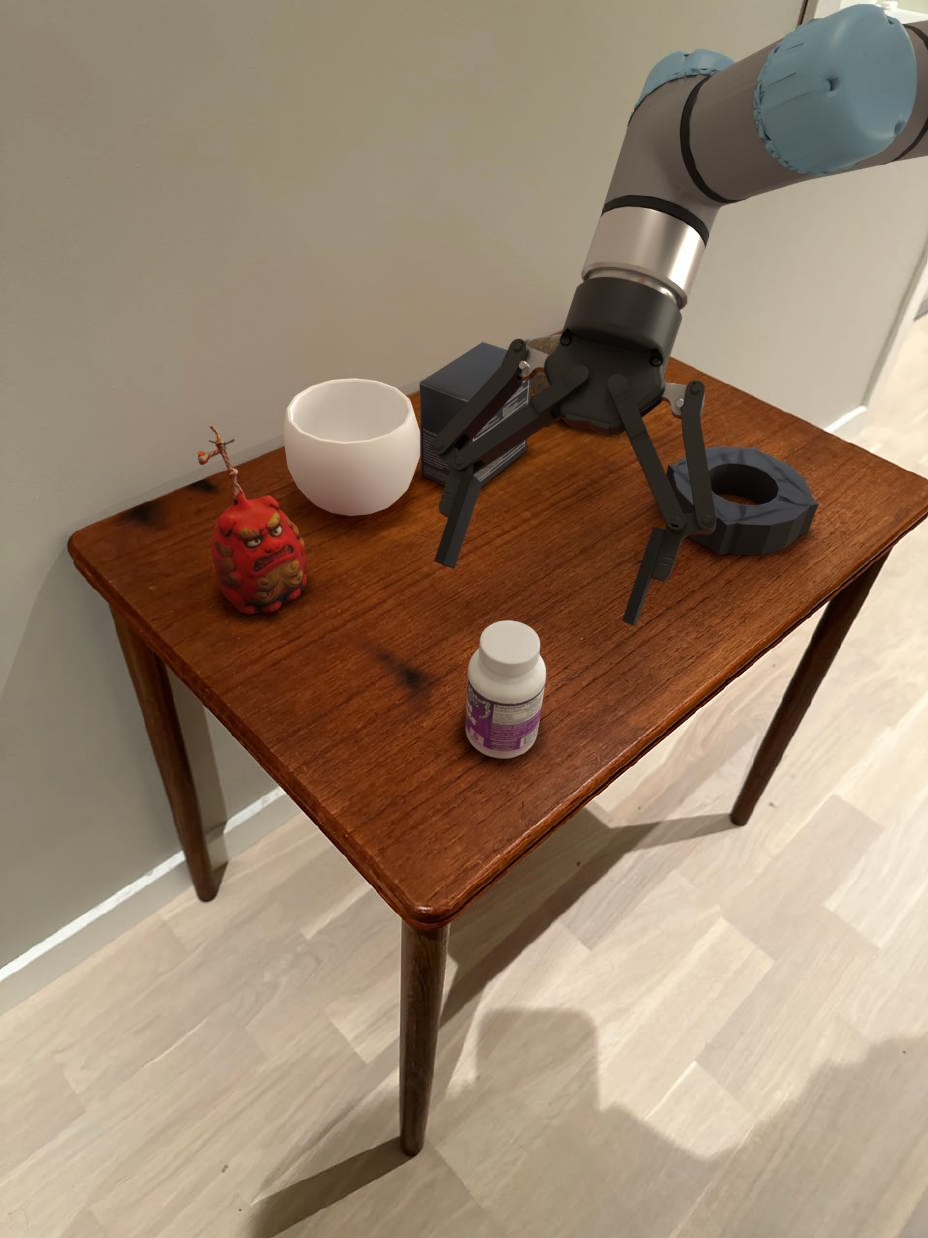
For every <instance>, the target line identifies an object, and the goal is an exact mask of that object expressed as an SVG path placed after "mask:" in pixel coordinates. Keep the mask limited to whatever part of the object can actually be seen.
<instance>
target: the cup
mask: <svg viewBox="0 0 928 1238" xmlns="http://www.w3.org/2000/svg"><path fill="white" fill-rule="evenodd" d="M419 427H420V426H419V424H418V421H417V418H416V415H415V411H414V407H413V404H412V402H411V399H410V397H408V396H407V395H405V393H404V392H402V391H401V390H400V389H399V388H397V387H395V386H392V385H390V384H387V383H384V382H381V381H379V380H372V379H363V378H355V377H354V378H341V379H340V378H339V379H331V380H327V381H324V382H320V383H316V384H313V385H310V386H309V387H306V388H305V389H304V390H302V391H300V392H299V393H297V394H295V395H294V397H293V398H292V400H291V401H290V402H289V404H288V406H287V407H286V409H285V414H284V419H283V426H282V435H283V444H284V451H285V458H286V467H287V469H288V471H289V473H290V476H291V478H292V479H293V481H294V483H295V485H296V487H297V488H298V489H299V491H300V492H301V493H302V494H303V495H304V496H305V498H307V499H308V500H309V501H310V502H311V503H312V504H313V505H315V506H316V507H318V508H320V509H322V510H324V511H326V512H329V513H331V514H335V515H342V516H350V517H353V516H354V517H356V516H364V515H372V514H374V513H375V514H376V513H377V512H380V511H383V510H386V509H388V508H390V507H391V506H392V505H393V504H394V503H395V502H397V501H398V500H399V499H400V498H401V497H402V496H403V495H404V494H405V493H406V492H407V491H408V489H409V487H410V485H411V482H412V480H413V477H414V475H415V472H416V469H417V466H418V463H419V460H420V458H421V429H420V428H419Z"/></svg>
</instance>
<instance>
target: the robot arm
mask: <svg viewBox="0 0 928 1238" xmlns="http://www.w3.org/2000/svg"><path fill="white" fill-rule="evenodd" d="M924 157H928V19H925V20H919V21H914V22H906V23H902V22H901V21H900V20H899V19H898V18H897V17H893V16H890V15H888V14H886V12H885V10H884V8H883V7H880V6H879V5H877V4H874V3H857V4H852V5H850V6H847V7H845V8H842V9H840V10H838V11H835V12H834V13H831V14H828V15H826V16H824V17H818V18H815V17H814V18H812V19H810V20H808V21H805V22H804V23H803V22H802V23H801V24H799V25H798V26H797V27H796V28H795V29H794V30H793V31H789V32H788V33H786V35H784V36H783V37H781V38H780V39H777V40H776V41H774V42H772V43H770V44H769V45H767V46H764V47H763V48H761V49H759V50H757V51H755V52H754V53H752V54H750V55H747V56H746V57H744V58H742V59H741V60H739V61H736V60H735V59H733V58H731V57H730V56H727V55H725V54H724V53H722V52H718V51H715V50H712V49H706V48H697V49H695V50H694V51H693V52H689V53H688V52H686V51H683V50H677V51H674V52H671V53H670V54H667V55H666V56H664V57H663V58H661V59H660V60H659V61H657V62H656V63H655V65H654V66H652V68H651V70H650V71H649V73H648V75H647V77H646V79H645V81H644V84H643V87H642V90H641V93H640V96H639V98H638V100H637V101H636V103H635V104H634V106H633V111H632V112H630V116H629V119H628V121H627V125H626V132H625V135H624V138H623V141H622V144H621V147H620V151H619V154H618V157H617V161H616V164H615V167H614V171H613V174H612V177H611V180H610V183H609V186H608V189H607V190H608V191H607V193H606V196H605V199H604V202H603V207H602V210H601V214H600V217H599V218H598V221H597V224H596V227H595V230H594V233H593V236H592V239H591V242H590V245H589V248H588V251H587V254H586V257H585V260H584V264H583V266H582V269H581V271H580V277H581V280H582V282H581V283H580V284H578V285H577V286H576V288H575V291H574V294H573V297H572V300H571V303H570V307H569V309H568V311H567V315H566V318H565V321H564V325H563V327H562V330H561V333H560V334H561V337H560V340H559V343H558V345H557V346H556V348H555V349H554V350H553V351H552V352H551V353H550V354H549V355H548V354H546V353H543V352H540V351H538V350H535V349H532V348H529V347H528V346H527V345H526V343H525V340H524V339H522V338H515V339H513V340H512V341H511V343H510V344H509V346H508V348H507V353H506V355H505V357H504V359H503V362H502V364H501V366H500V367H499V369H498V370H497V371H496V372H495V373H494V374H493V375H492V376H491V377H490V378H489V379H488V381H487V382H486V383H485V384H484V385H483V386H482V387H481V388H480V389H479V390H478V392H477V393H476V394H475V395H474V396H473V397H472V398H471V399H470V400H469V401H468V402H467V404H466V405H465V406H464V407H463V408H462V409H461V410H460V411H459V412H458V413H457V415H456V416H455V417H454V418H453V419H452V420H451V421H450V422H449V423H448V424H447V425H446V427H445V428H444V429H443V430H442V431H441V432H440V433H439V434H438V435H437V436H436V437H435V439H434V440H433V441H432V443H431V450H432V451H433V453H435V454H436V455H437V456H438V457H439V458H441V459H442V460H443V461H445V462H446V463H447V464H448V466H449V475H448V478H447V481H446V484H445V486H444V488H443V492H442V494H441V498H440V500H439V503H438V513H439V514H440V515H442V516H444V517H446V518H447V519H446V523H445V526H444V528H443V532H442V535H441V538H440V541H439V544H438V547H437V550H436V554H435V557H434V560H433V562H434V563H438V564H440V565H442V566H444V567H448V568H450V569H454V570H455V568H456V566H457V562H458V559H459V556H460V553H461V549H462V547H463V544H464V542H465V541H464V540H465V538H466V536H467V535H466V534H467V533H468V532H467V531H468V529H469V525H470V523H471V519H472V516H473V513H474V510H475V507H476V504H477V501H478V498H479V494H480V491H481V489H482V487H483V486H482V482H480V481H479V480H478V479H477V478H476V477H475V476H474V474H476V473H477V472H479V471H480V470H481V469H483V468H484V467H486V466H487V465H489V464H490V463H492V462H493V461H495V460H496V459H498V458H499V457H501V456H502V455H504V454H505V453H507V452H508V451H510V450H511V449H513V448H514V447H516V446H517V445H518V444H520V443H521V442H523V441H524V440H526V439H527V440H528V439H529V438H530V437H532V436H534V435H535V434H536V433H538V432H539V431H541V430H543V429H544V428H548V427H550V426H552V425H554V424H555V423H556V422H558V421H560V420H562V421H564V422H565V423H566V424H567V425H568V427H570V428H575V429H577V430H593V431H594V432H596V433H597V434H599V435H601V436H605V437H609V438H613V437H612V436H614V435H615V436H616V435H620V434H622V433H624V432H625V433H626V437H627V438H628V441H629V443H630V445H631V447H632V450H633V452H634V455H635V457H636V459H637V461H638V464H639V466H640V468H641V471H642V473H643V475H644V477H645V479H646V482H647V484H648V487H649V489H650V491H651V493H652V496H653V498H654V500H655V502H656V506H657V508H658V510H659V512H660V514H661V517H662V519H663V521H664V523H665V528H663V527H658V526H655V525H653V526H652V529H651V532H650V534H649V538H648V541H647V544H646V547H645V550H644V553H643V556H642V559H641V563H640V565H639V568H638V571H637V574H636V577H635V579H634V580H635V581H634V583H633V586H632V589H631V592H630V595H629V599H628V601H627V604H626V607H625V610H624V614H623V617H622V620H621V621H622V622H623V623H624V624H627V625H630V626H633V627H637V625H638V621H639V620H640V616H641V613H642V610H643V607H644V604H645V601H646V598H647V595H648V592H649V589H650V586H651V583H652V580H655V581H659V582H661V583H666V582H667V581H668V580H669V579H670V578H671V576H672V572H673V570H674V567H675V564H676V560H677V557H678V554H679V551H680V548H681V545H682V543H683V541H684V540H685V539H686V538H687V537H688V536H689V535H697V534H703V535H709V534H712V533H713V532H714V530H715V528H716V513H715V507H714V501H713V495H712V489H711V482H710V476H709V470H708V464H707V458H706V452H705V449H706V447H705V440H704V434H703V427H702V423H701V422H702V418H703V417H702V416H703V411H704V406H705V403H706V399H705V398H706V387H705V383H703V382H702V381H700V380H698V379H696V380H692V381H689V383H687V384H681V383H673V382H666V380H665V373H666V370H667V367H668V364H669V361H670V357H671V355H672V352H673V348H674V345H675V342H676V339H677V336H678V333H679V331H680V328H681V324H682V320H683V315H682V312H681V310H684V308H685V307H686V306H687V305H688V303H689V299H690V296H691V295H692V291H693V287H694V284H695V281H696V278H697V275H698V271H699V269H700V266H701V262H702V258H703V256H704V252H705V250H706V249H707V245H708V242H709V239H710V235H711V231H712V229H713V226H714V223H715V220H716V218H717V215H718V213H719V211H720V209H721V208H722V207H725V206H728V205H731V204H736V203H740V202H742V201H746V200H748V199H750V198H753V197H757V196H759V195H763V194H765V193H769V192H772V191H775V190H776V191H777V190H780V189H783V188H785V187H786V188H787V187H788V186H792V185H795V184H798V183H804V182H807V181H811V180H815V179H816V180H817V179H821V178H826V177H831V176H835V175H841V174H845V173H849V172H855V171H861V170H863V169H864V170H865V169H868V168H869V169H870V168H872V167H878V166H884V165H888V164H890V163H895V162H900V161H906V160H911V159H912V160H913V159H918V158H924ZM538 372H545V375H546V378H547V381H548V384H549V387H548V388H546V389H545V390H543V391H542V392H540V393H539V394H537V395H534V396H533V397H532V398H530V402H529V403H528V404H527V405H526V406H524V407H523V408H522V409H520V410H519V411H517V412H516V413H514V414H513V415H511V416H510V417H508V418H507V419H506V420H504V421H503V422H501V423H500V424H498V425H497V426H495V427H494V428H492V429H491V430H489V431H488V432H487V433H485V434H484V435H482V436H481V437H479V438H478V439H476V440H475V441H473V442H472V443H470V442H471V440H472V439H473V438H474V437H475V436H476V435H477V434H478V433H479V432H480V431H481V430H482V429H483V427H484V426H485V425H486V424H487V423H488V422H489V421H490V420H491V419H492V418H493V417H494V416H495V414H496V413H497V412H498V411H499V410H500V409H501V408H502V407H503V406H504V405H505V404H506V403H507V401H508V400H509V399H510V398H511V397H512V396H513V395H514V394H515V393H516V391H517V390H518V389H519V388H520V386H521V385H522V383H523V381H528V380H531V379H532V378H533V377H534V376H535V374H537V373H538ZM662 402H666V403H668V404H669V406H670V409H671V410H670V411H671V415H672V416H673V418H676V419H678V420H680V422H681V432H682V433H681V434H682V441H683V447H684V453H685V457H686V460H687V466H688V472H689V479H690V485H691V491H692V497H693V503H694V510H695V513H688V514H683V512H682V510H681V508H680V505H679V503H678V501H677V498H676V496H675V494H674V492H673V489H672V487H671V485H670V482H669V480H668V478H667V475H666V473H667V472H666V471H665V469H664V466H663V465H662V462H661V459H660V457H659V455H658V453H657V451H656V448H655V445H654V443H653V441H652V439H651V437H650V434H649V432H648V429H647V427H646V424H645V421H644V419H643V418H644V417H645V416H646V415H648V414H649V413H651V412H652V411H654V409H656V408H657V407H658V406H659V405H661V404H662ZM469 443H470V444H469ZM468 444H469V445H468ZM467 445H468V446H467ZM481 486H482V487H481Z"/></svg>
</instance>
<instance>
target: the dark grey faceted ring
mask: <svg viewBox="0 0 928 1238" xmlns="http://www.w3.org/2000/svg"><path fill="white" fill-rule="evenodd" d="M705 452H706V458H707V464H708V470H709V476H710V482H711V489H712V495H713V501H714V507H715V513H716V528H715V530H714V532H713V533H712V534H709V535H703V534H697V535H689V536H687V537H688V538H690V539H691V540H693V541H695V542H697V543H698V544H700V545H702V546H703V547H706V548H708V549H711V550H712V552H713V553H714V554H715V555H716V556H723V555H726V554H729V555H736V556H764V555H768V554H771V553H775V552H780V551H783V550H785V549H786V548H787V547H789V546H790V545H791V544H792V543H794V542H795V541H796V540H797V539H798V538H799V536H803V535H807V534H808V533H809V531H810V529H811V526H812V523H813V521H814V518H815V515H816V514H817V513H816V512H817V510H818V508H819V504H820V503H819V502H818V501H817V500H815V499H814V498H813V493H812V491H811V489H810V486H809V485H808V482H807V480H806V478H805V477H804V476H803V475H802V474H801V473H799V472H798V471H797V470H796V469H795V468H794V467H793V466H792V465H791V464H789V463H787V462H785V461H783V460H780V459H779V458H777V457H774V456H772V455H770V454H769V453H766V452H762V451H761V450H760V449H759V448H758V447H757V446H751V447H746V448H745V447H742V446H720V445H719V446H711V447H705ZM665 473H666V475H667V478H668V480H669V482H670V485H671V487H672V489H673V492H674V494H675V496H676V498H677V501H678V503H679V505H680V508H681V510H682V512H683V514H688V513H695V510H694V503H693V497H692V491H691V485H690V479H689V472H688V466H687V460H686V456H684V457H682V458H680V459H679V460H678V462H675V463H670V464H668V465H667V469H666V472H665ZM718 494H733V495H738V496H741V497H745V498H748V499H749V500H752V501H753V502H755V503H757V504H755V505H753V504H741V503H737V502H733V501H729V500H727V499H725V498H723V497H721V496H719V495H718Z"/></svg>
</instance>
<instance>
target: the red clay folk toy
mask: <svg viewBox="0 0 928 1238" xmlns="http://www.w3.org/2000/svg"><path fill="white" fill-rule="evenodd" d="M209 429H210V430H212V432H213V433H214V434H215V436H216V438H215V440H212V439H209V440H208V442H209V443H212V444H214V445H215V447H216V449H215V450H211V451H208V452H205V451H203V450H202V451H200V450H199V451H197V460H198V461H197V462H198V464H199V466H204V465H206V464H208V463H209V461H210V459H212V458H213V457H216V456H218V455H221V457H222V459H223V461H224V463H225V467H226V469H227V471H228V477H229V479H230V481H231V483H232V494H233V500H232V503H231V504H230V505H229V506H228V507H227V508H226V509H225V510H224V511H223V512H222V513H221V514H220V516H219V517H218V518H217V520H216V521H215V524H214V527H213V534H212V541H211V555H212V556H211V557H212V562H213V565H214V569H215V572H216V576H217V581H218V586H219V588H220V591H221V593H222V595H223V597H224V598H225V599H226V600H227V601H228V602H229V603H231V604H232V606H233V607H234V608H235V609H236V610H237V611H239V612H240V613H242V614H245V615H249V616H251V615H255V614H257V613H273V612H276V611H277V610H279V609H280V608H281V607H282V605H283V604H286V602H294V601H295V600H296V599H298V598H299V597H300V596H301V593H302V592H303V591H304V590H305V589H306V588H307V585H308V577H307V574H306V571H307V564H308V560H307V555H306V554H307V553H305V550H306V544H305V541H304V539H303V538H302V537H301V535H300V531H299V529H298V526H297V525H296V524H295V523H294V522H293V521H291V520H290V518H289V517H288V515H286V513H285V512H283V510H281V509H280V505H279V502H278V501H277V500H276V499H275V498H273V497H272V496H271V495H268V494H267V495H262V496H260V497H258V498H257V497H256V498H249V499H247V498H246V495H245V493H244V490H243V489H242V488H241V486H240V484H239V483H238V481H237V476H238V473H239V470H237V468H234V467H233V465H232V463H231V460H230V455H229V452H228V449H227V446H226V445H229V444H231V443H235V441H236V439H235V438H232V439H230V440H228V441H223V440H222V438H221V435H220V432H219V431H218V429H217V427H216V426H215V425H209Z"/></svg>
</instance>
